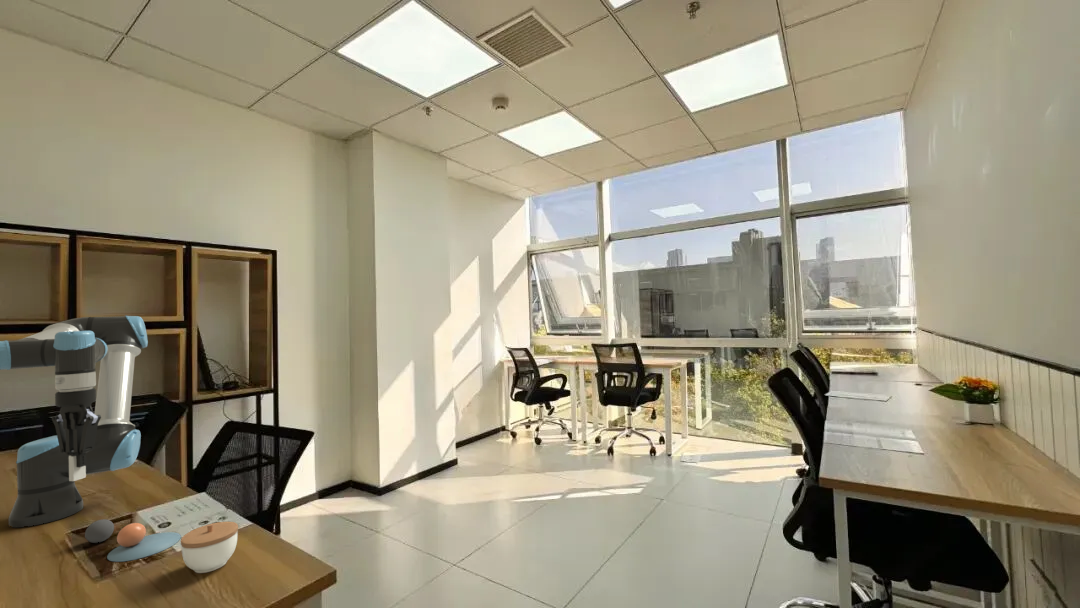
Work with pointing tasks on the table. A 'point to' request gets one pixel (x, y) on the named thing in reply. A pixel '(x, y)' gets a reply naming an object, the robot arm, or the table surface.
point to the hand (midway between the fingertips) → (77, 479)
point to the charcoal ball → (99, 531)
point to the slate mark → (145, 547)
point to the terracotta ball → (131, 535)
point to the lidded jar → (209, 546)
